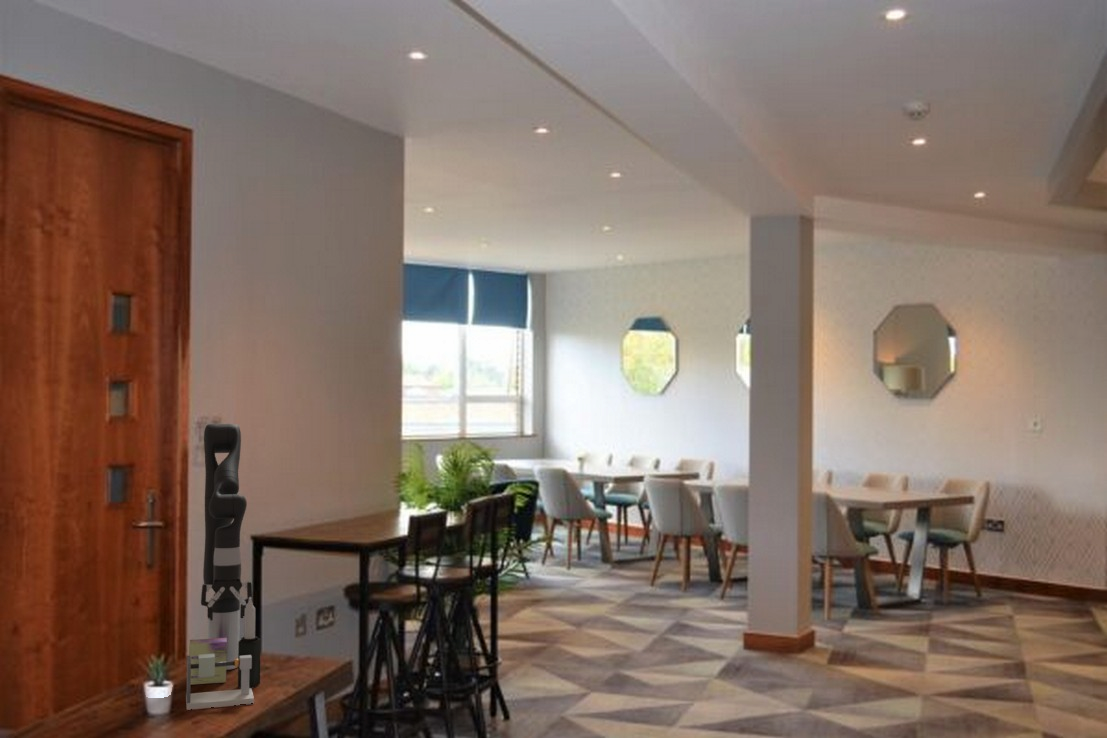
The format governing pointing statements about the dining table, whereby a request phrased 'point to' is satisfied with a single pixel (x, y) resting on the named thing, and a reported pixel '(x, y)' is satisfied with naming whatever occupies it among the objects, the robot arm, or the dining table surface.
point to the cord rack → (222, 697)
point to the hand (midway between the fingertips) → (226, 618)
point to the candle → (250, 646)
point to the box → (208, 647)
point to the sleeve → (206, 665)
